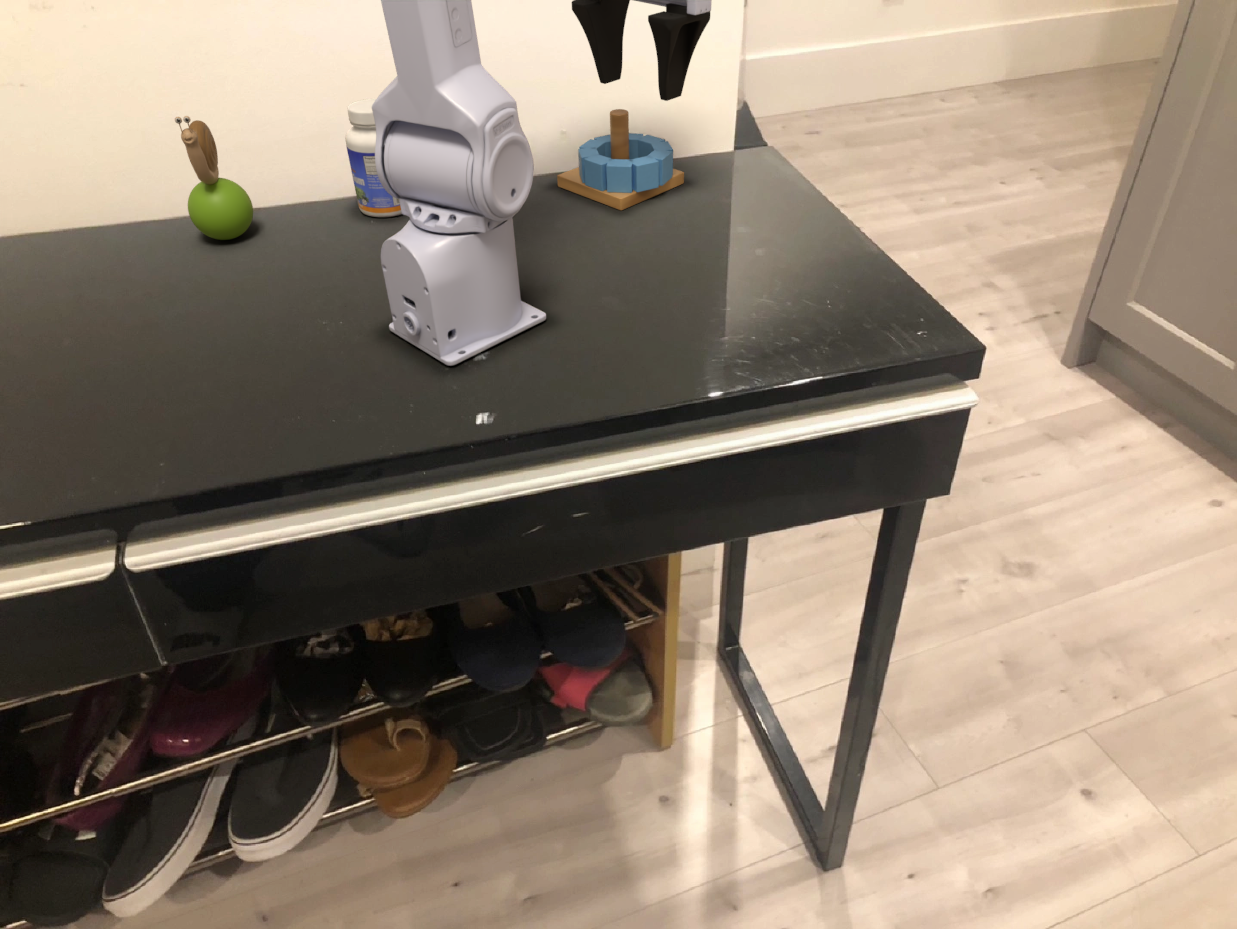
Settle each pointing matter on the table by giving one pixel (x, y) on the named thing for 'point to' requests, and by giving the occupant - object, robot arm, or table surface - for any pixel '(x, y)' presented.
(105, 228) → the table surface
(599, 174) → the segmented ring
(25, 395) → the table surface
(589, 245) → the table surface
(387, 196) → the pill bottle
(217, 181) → the snail figurine
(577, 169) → the peg
